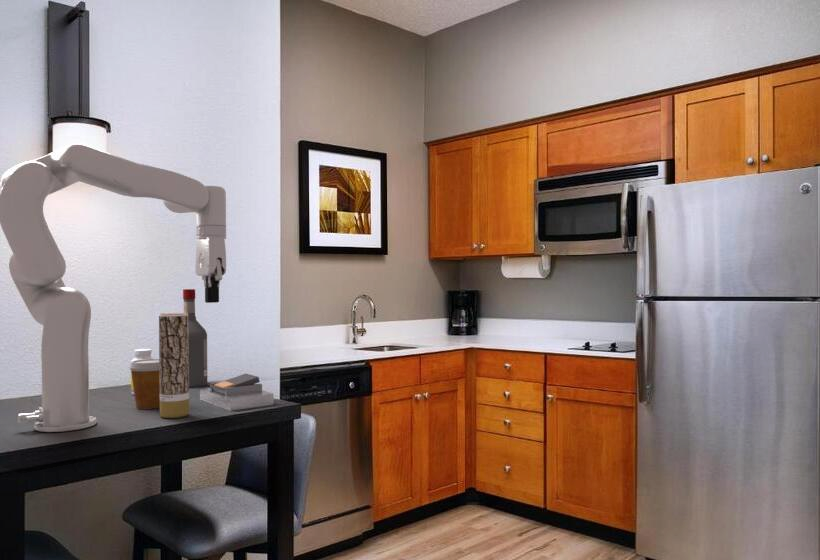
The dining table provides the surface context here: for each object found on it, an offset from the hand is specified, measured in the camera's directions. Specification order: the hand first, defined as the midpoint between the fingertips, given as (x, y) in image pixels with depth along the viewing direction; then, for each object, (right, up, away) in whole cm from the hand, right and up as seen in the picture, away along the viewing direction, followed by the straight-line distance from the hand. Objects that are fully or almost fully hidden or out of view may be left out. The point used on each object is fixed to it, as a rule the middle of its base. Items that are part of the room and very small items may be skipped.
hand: (212, 302), depth 177 cm
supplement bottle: (-25, -27, +17) cm, 41 cm away
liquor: (-16, -27, +32) cm, 45 cm away
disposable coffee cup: (-16, -28, -2) cm, 32 cm away
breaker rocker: (+5, -22, +3) cm, 23 cm away
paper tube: (-5, -28, -14) cm, 31 cm away
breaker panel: (+5, -27, +3) cm, 28 cm away
